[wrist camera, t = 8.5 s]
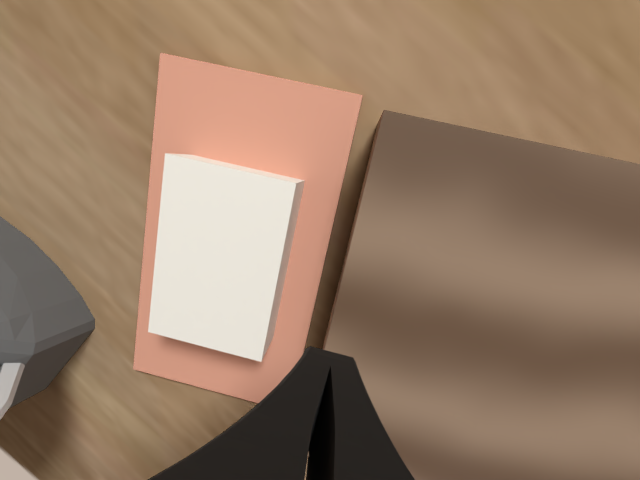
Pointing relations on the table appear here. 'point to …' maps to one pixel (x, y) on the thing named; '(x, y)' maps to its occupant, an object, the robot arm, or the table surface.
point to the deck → (495, 304)
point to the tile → (222, 253)
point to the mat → (257, 153)
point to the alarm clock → (35, 318)
